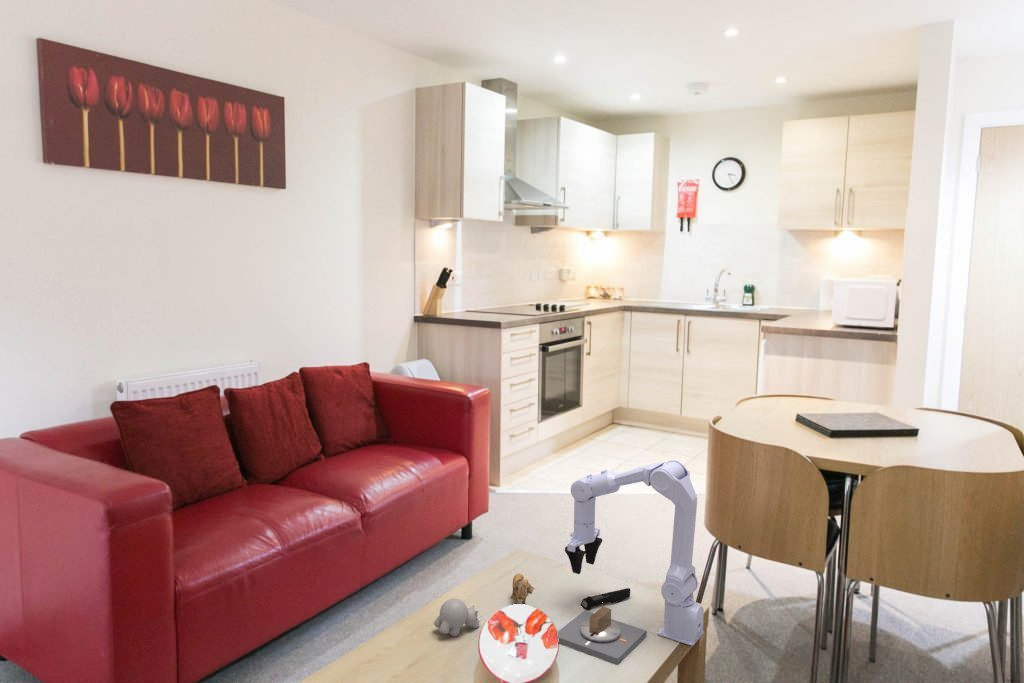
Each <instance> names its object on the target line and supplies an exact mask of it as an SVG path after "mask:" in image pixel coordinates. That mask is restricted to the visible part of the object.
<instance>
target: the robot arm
mask: <svg viewBox="0 0 1024 683" xmlns="http://www.w3.org/2000/svg"><path fill="white" fill-rule="evenodd" d="M690 473H691V472H690V470H689V469H688V468H687V467H686V466H685V465H684V464H683V463H682V462H680V461H678V460H669V461H667V462H666V461H660V462H654V463H650V464H646V465H643V466H639V467H635V468H633V469H629V470H627V471H623V472H620V473H617V472H615V471H613V470H609V471H608V469H603V470H602V471H600V473H597V474H591V473H590V474H588V475H586V476H583V477H582V478H580V479H578V480H576V481H574V482H572V484H571V487H570V493H571V496H572V498H573V499H574V500H573V501H574V503H573V508H574V509H573V531H572V532H571V533H570V534H569V536H570V537H571V539H570V540H569V542H567V545H566V546H565V547H564V552H565V553H566V555H567V557H568V560H569V562H570V566H571V571H572V573H573V574H576V575H580V574H581V572H582V567H583V560H584V557H585V562H586V564H589V565H593V566H594V564H595V562H596V558H597V554H598V551H599V548H600V546H601V544H602V542H603V538H602V537H600V535H601V533H600V531H601V529H600V528H598V527H597V528H596V526H595V525H596V500H597V499H596V498H597V497H601V496H605V495H610V494H614V493H617V492H618V491H619V490H620V487H622V486H626V485H633V484H637V483H641V482H643V483H644V484H645V485H646V487H652V489H654V490H655V492H657V493H658V494H660V495H662V496H664V497H665V498H666V499H668V500H669V501H671V502H672V503H673V505H674V515H673V516H674V517H673V527H672V528H673V530H672V543H671V555H670V565H669V568H668V570H667V572H666V575H665V581H664V583H663V584H662V585H661V589H660V591H661V595H662V596H661V597H662V598H663V599H664V608H663V609H664V613H663V627H662V628H661V629H659V631H658V632H657V635H658V636H660V637H664V638H667V639H669V640H673V641H676V642H679V643H682V644H686V645H689V646H693V647H694V646H695V644H696V643H697V642H698V640H700V638H701V637H702V636H703V635H704V634H705V631H704V614H705V613H704V607H703V606H702V605H700V604H698V603H696V601H695V598H694V592H695V591H696V590H697V589H698V586H699V582H698V578H697V576H696V567H695V566H694V565H693V554H694V542H695V531H696V521H697V520H696V519H697V508H698V496H697V493H696V490H695V489H694V486H693V483H692V480H691V478H690V477H691V474H690ZM581 546H584V550H583V549H581V548H580V547H581Z"/></svg>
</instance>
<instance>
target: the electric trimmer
mask: <svg viewBox="0 0 1024 683" xmlns="http://www.w3.org/2000/svg"><path fill="white" fill-rule="evenodd" d="M630 596H631V588H630V587H625V588H622V589H618V590H613V591H608V592H604V593H600V594H596V595H591V596H590V595H588V596H586V597H584V598H583V599H582V600H581V602H580V607H581V606H582V607H583V608H582V607H581V608H582V609H583V610H585V609H586V610H585V611H591V609H592V608H595V607H599V606H604V605H605V604H616V603H618V602H621V601H623V600H626V599H628V598H629V597H630ZM602 602H603V603H602Z"/></svg>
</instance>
